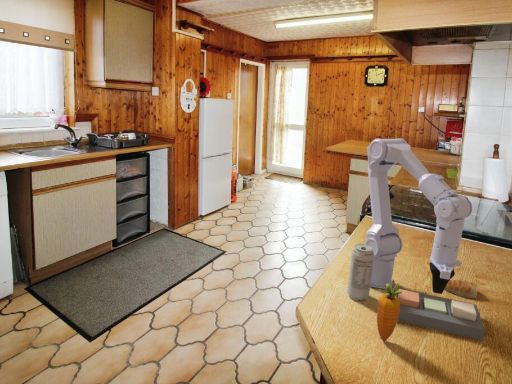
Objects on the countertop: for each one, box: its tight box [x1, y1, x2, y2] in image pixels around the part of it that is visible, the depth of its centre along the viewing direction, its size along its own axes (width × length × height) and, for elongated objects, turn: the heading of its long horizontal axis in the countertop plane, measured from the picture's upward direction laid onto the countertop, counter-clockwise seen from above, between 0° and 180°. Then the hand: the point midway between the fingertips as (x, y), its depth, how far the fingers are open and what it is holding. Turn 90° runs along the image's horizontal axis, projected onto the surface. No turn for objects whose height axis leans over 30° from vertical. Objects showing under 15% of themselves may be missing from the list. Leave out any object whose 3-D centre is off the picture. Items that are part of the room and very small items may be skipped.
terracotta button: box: [398, 288, 420, 308], centre depth 98 cm, size 5×5×3 cm
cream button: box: [450, 299, 477, 321], centre depth 93 cm, size 5×5×3 cm
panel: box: [391, 286, 486, 341], centre depth 96 cm, size 21×12×3 cm, turn 69°
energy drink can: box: [346, 243, 374, 302], centre depth 103 cm, size 6×6×15 cm
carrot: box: [376, 283, 402, 342], centre depth 84 cm, size 5×5×15 cm
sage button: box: [423, 298, 447, 314], centre depth 96 cm, size 5×5×3 cm
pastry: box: [444, 279, 478, 299], centre depth 110 cm, size 9×7×4 cm
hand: (437, 292), depth 94 cm, fingers closed
